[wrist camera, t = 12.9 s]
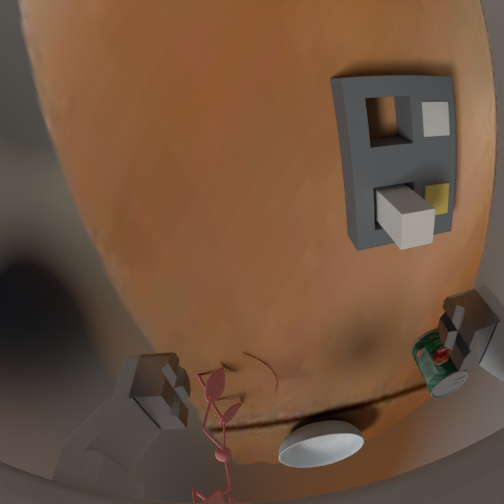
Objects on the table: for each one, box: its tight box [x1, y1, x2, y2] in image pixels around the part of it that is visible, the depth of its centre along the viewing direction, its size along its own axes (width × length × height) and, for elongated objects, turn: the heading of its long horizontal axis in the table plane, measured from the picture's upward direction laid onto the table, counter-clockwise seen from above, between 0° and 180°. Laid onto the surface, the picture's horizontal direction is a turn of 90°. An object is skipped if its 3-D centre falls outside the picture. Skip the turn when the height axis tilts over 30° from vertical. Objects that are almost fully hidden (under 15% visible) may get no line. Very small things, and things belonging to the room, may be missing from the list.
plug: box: [373, 183, 435, 250], centre depth 33 cm, size 4×4×10 cm
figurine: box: [192, 353, 277, 503], centre depth 41 cm, size 15×26×35 cm, turn 10°
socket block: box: [330, 75, 456, 251], centre depth 32 cm, size 20×14×4 cm
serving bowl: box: [279, 420, 364, 467], centre depth 65 cm, size 21×21×7 cm
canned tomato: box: [411, 330, 468, 398], centre depth 48 cm, size 8×8×11 cm
